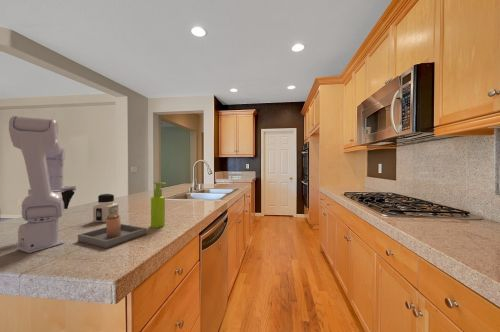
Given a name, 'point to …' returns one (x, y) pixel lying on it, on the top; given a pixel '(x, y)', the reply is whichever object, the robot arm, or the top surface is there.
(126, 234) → the tray
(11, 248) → the top surface
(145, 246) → the top surface
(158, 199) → the soap dispenser
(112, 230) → the spice jar
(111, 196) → the container
